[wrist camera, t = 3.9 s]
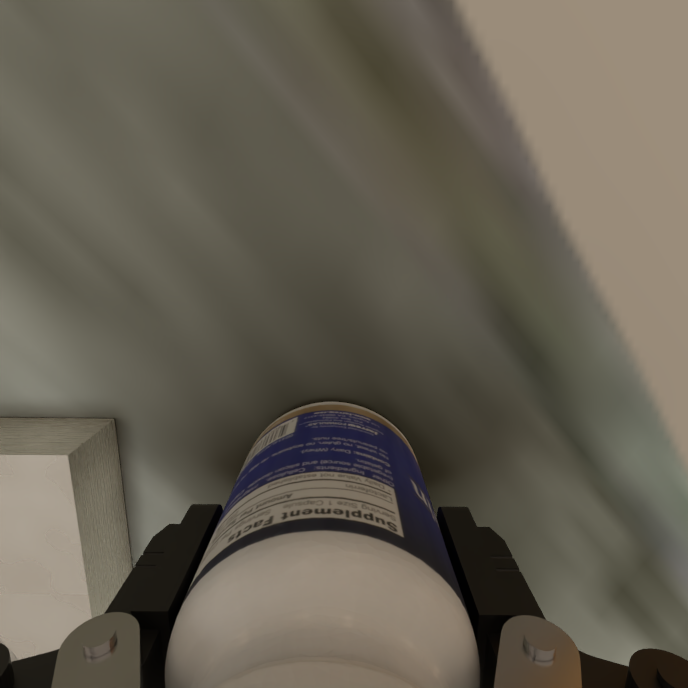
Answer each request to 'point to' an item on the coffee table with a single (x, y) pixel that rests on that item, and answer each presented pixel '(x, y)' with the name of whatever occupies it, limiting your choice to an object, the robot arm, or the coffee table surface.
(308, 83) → the coffee table surface
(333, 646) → the pill bottle
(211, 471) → the coffee table surface
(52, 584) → the jig
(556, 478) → the coffee table surface
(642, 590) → the coffee table surface
